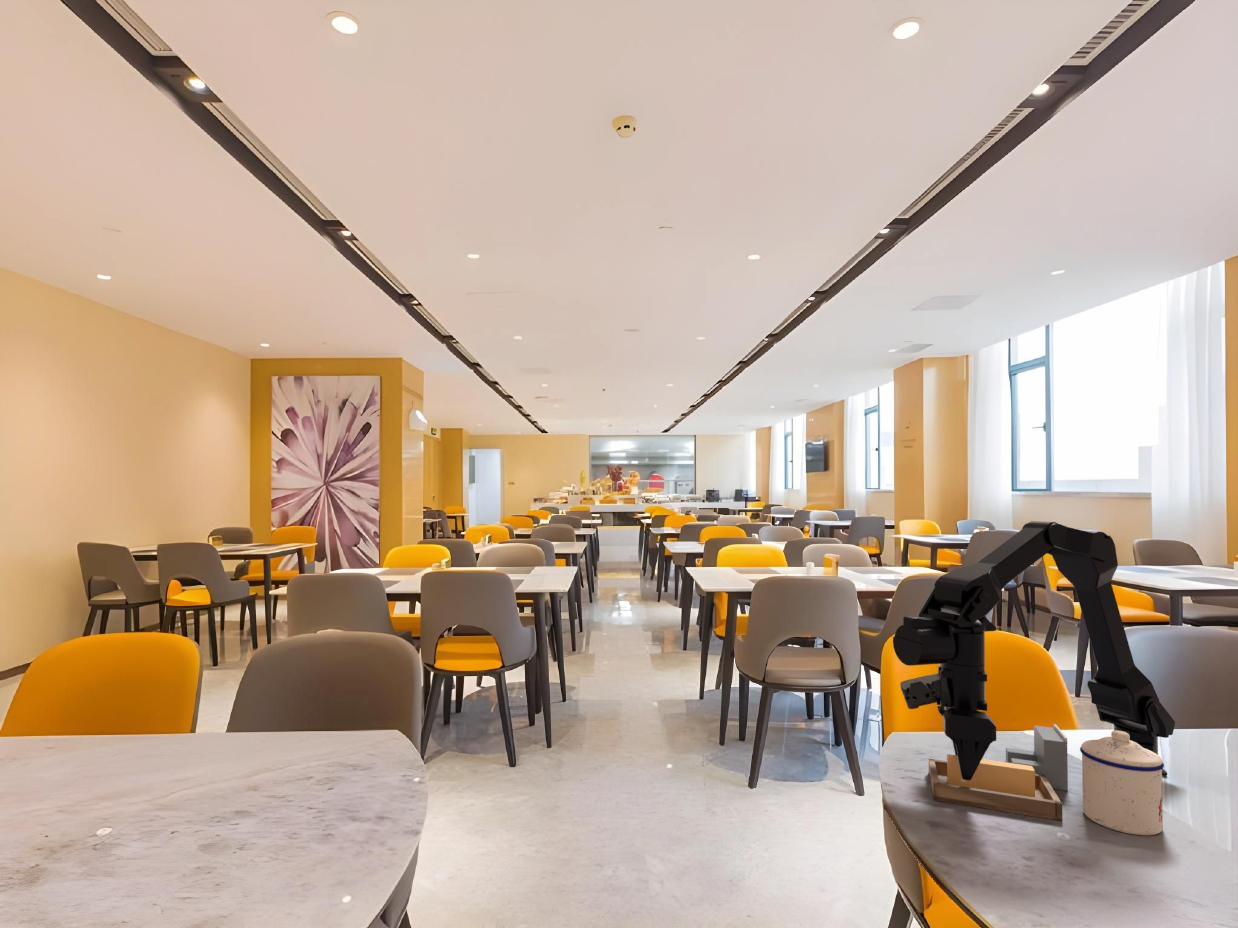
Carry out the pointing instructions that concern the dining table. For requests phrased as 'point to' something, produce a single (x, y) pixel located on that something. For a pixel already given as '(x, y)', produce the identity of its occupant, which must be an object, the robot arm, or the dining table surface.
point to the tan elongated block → (994, 777)
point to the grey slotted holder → (1045, 756)
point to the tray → (996, 795)
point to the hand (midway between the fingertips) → (963, 769)
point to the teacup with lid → (1122, 785)
